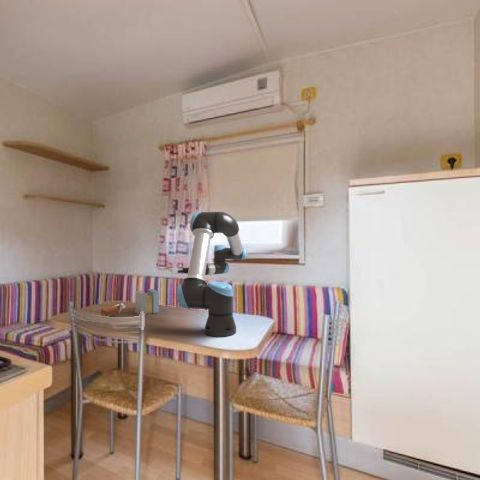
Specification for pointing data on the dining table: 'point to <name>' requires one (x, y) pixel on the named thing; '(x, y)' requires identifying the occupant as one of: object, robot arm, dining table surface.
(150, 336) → the dining table surface
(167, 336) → the dining table surface
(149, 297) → the block
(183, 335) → the dining table surface
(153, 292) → the free jaw
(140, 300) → the vise
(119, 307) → the bull figurine
